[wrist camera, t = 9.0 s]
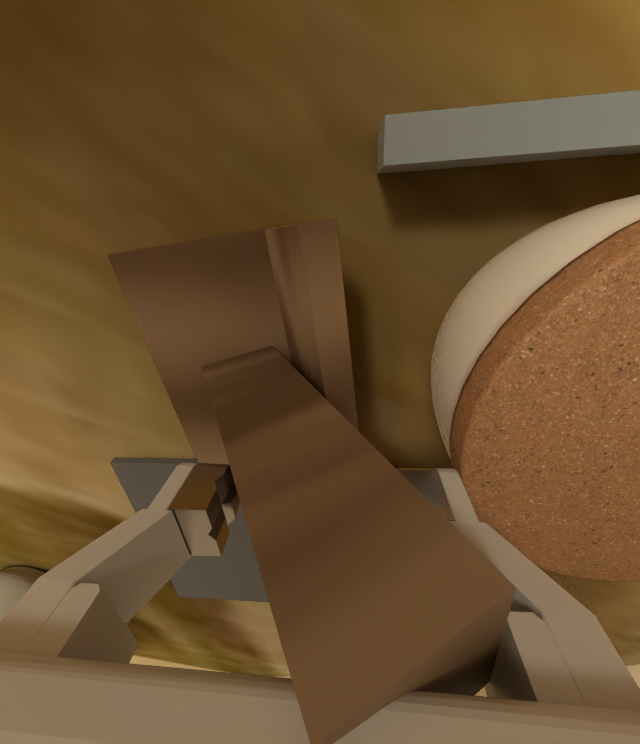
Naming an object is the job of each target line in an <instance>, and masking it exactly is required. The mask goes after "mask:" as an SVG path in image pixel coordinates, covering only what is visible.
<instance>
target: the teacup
mask: <svg viewBox="0 0 640 744" xmlns="http://www.w3.org/2000/svg"><path fill="white" fill-rule="evenodd" d="M45 573H46V572H43V571H41V570H37V569H34V568H30V567H10V568H6V569H4V570H0V623H1V621H2V620H3V619H4V618H5V617H6V616H7V614H8V613H9V612H10V611H11V610H12V608H13V607H14V606H15V605H16V604H17V603H18V601H19V600H20V599H21V598H22V597H23V596H24V594H25V593H26V592H27V591H28V590H29V589H30V587H31V586H32V585H33V584H34V583H35V582H36V580H37V579H38V578H39V577H41V576H42V575H44V574H45Z"/></svg>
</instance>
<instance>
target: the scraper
mask: <svg viewBox="0 0 640 744" xmlns="http://www.w3.org/2000/svg"><path fill="white" fill-rule="evenodd" d="M108 257H109V259H110V262H111V264H112V266H113V268H114V271H115V273H116V275H117V278H118V280H119V282H120V284H121V287H122V289H123V291H124V294H125V296H126V298H127V301H128V303H129V305H130V307H131V310H132V312H133V314H134V317H135V319H136V321H137V324H138V326H139V328H140V330H141V333H142V335H143V337H144V340H145V342H146V344H147V347H148V349H149V351H150V353H151V356H152V358H153V360H154V363H155V365H156V367H157V369H158V372H159V374H160V376H161V379H162V381H163V383H164V386H165V388H166V390H167V392H168V395H169V397H170V399H171V402H172V404H173V406H174V409H175V411H176V413H177V415H178V418H179V420H180V422H181V425H182V427H183V429H184V432H185V434H186V436H187V438H188V441H189V443H190V445H191V448H192V450H193V452H194V454H195V457H196V459H197V461H198V463H212V464H230V468H231V471H232V475H233V478H234V479H233V481H234V482H235V485H236V489H237V492H238V496H239V499H240V502H241V506H242V509H243V513H244V516H245V520H246V523H247V527H248V530H249V534H250V537H251V541H252V544H253V547H254V551H255V554H256V558H257V561H258V565H259V568H260V572H261V575H262V579H263V582H264V585H265V589H266V592H267V596H268V599H269V603H270V606H271V610H272V613H273V617H274V620H275V624H276V627H277V630H278V634H279V637H280V641H281V644H282V648H283V651H284V655H285V658H286V662H287V665H288V668H289V672H290V675H291V679H292V682H293V686H294V689H295V693H296V696H297V700H298V703H299V706H300V710H301V713H302V717H303V720H304V724H305V727H306V731H307V734H308V738H309V741H310V744H334V743H335V742H337V741H338V740H339V739H341V738H342V737H343V736H345V735H346V734H348V733H349V732H350V731H352V730H353V729H355V728H356V727H357V726H359V725H360V724H362V723H363V722H364V721H366V720H367V719H369V718H370V717H371V716H373V715H374V714H376V713H377V712H378V711H380V710H381V709H383V708H384V707H386V706H387V705H389V704H390V703H392V702H393V701H395V700H397V699H398V698H400V697H402V696H404V695H405V694H408V693H410V692H412V691H417V690H418V691H428V692H439V693H450V694H460V695H471V696H474V695H475V694H476V693H477V692H478V691H480V689H482V688H483V687H484V686H485V685H486V684H488V683H489V682H490V679H491V675H492V672H493V668H494V665H495V661H496V658H497V654H498V651H499V647H500V644H501V640H502V636H503V633H504V629H505V626H506V622H507V619H508V615H509V612H510V608H511V605H512V601H513V597H514V594H515V590H516V587H515V586H514V585H513V584H512V583H511V582H510V581H509V580H508V579H507V578H506V577H505V576H504V575H503V574H502V573H501V572H499V571H498V570H497V569H496V568H495V567H494V566H493V565H492V564H491V563H490V562H489V561H488V560H487V559H486V558H485V557H484V556H483V555H482V554H481V553H480V552H479V551H478V550H477V549H476V548H475V547H474V546H473V545H472V544H471V543H470V542H469V541H468V540H467V539H466V538H465V537H464V536H463V535H462V534H461V533H460V532H459V531H458V530H457V529H456V528H455V527H454V526H453V525H452V524H451V523H450V522H449V521H448V520H447V519H446V518H445V517H444V516H443V515H442V514H441V513H440V512H439V511H438V510H437V509H436V508H435V507H434V506H433V505H432V504H431V503H430V502H429V501H428V500H427V499H426V498H425V497H424V496H423V495H422V494H421V493H420V492H419V491H418V490H417V489H416V488H415V487H414V486H413V485H412V484H411V483H410V482H409V481H408V480H407V479H406V478H405V477H404V476H403V475H402V474H401V473H400V472H399V471H398V470H397V469H396V468H395V467H394V466H393V465H392V464H391V463H390V462H389V461H388V460H387V459H386V458H385V457H384V456H383V455H382V454H381V453H380V452H379V451H378V450H377V449H376V448H375V447H374V446H373V445H372V444H371V443H370V442H369V441H368V440H367V439H366V438H365V437H364V436H363V435H362V434H361V433H360V432H359V430H358V420H357V411H356V401H355V391H354V381H353V372H352V362H351V352H350V343H349V333H348V323H347V313H346V304H345V294H344V284H343V275H342V265H341V255H340V245H339V236H338V226H337V219H336V220H327V221H318V222H308V223H299V224H290V225H282V226H276V227H270V228H264V229H258V230H252V231H246V232H240V233H234V234H228V235H222V236H216V237H210V238H204V239H198V240H192V241H186V242H180V243H174V244H168V245H162V246H156V247H150V248H144V249H138V250H131V251H125V252H119V253H113V254H109V255H108Z"/></svg>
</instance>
